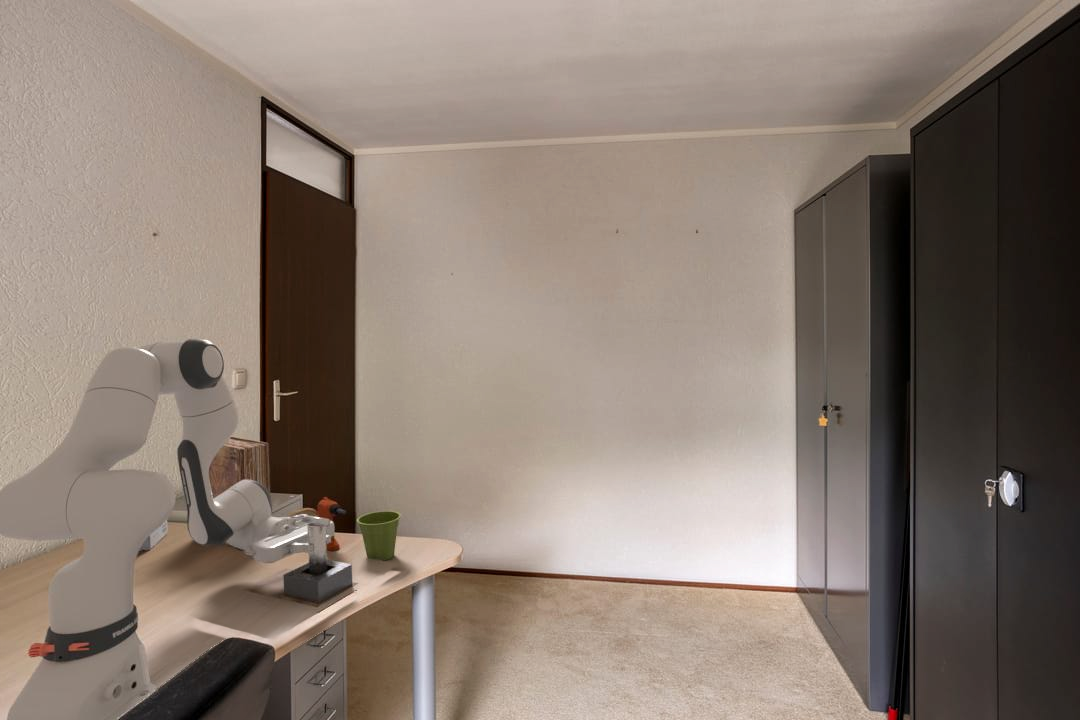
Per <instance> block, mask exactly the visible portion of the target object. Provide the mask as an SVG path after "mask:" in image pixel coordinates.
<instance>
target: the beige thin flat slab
mask: <svg viewBox="0 0 1080 720" xmlns="http://www.w3.org/2000/svg"><path fill="white" fill-rule="evenodd" d="M292 570H293V569H290V568H284V569H282V570H279V571H277V572H275V573H273V574H271V575H268V576H266V577H264V578H262V579H260V580H258V581H256V582H253V583H251V584H250V585H247V586H245V587H242V588H241V590H242V591H247V592H250V593H255V594H259V595H263V596H267V597H272V598H277V599H280V600H283V601H289V602H292V603H297V604H302V605H306V606H311V607H316V608H318V607H321V606H322V605H323V604H325V603H327V602H329V601H330V600H332V599H334V598H336V597H337V596H339V595H340V594H342V593H344V592H346V591H348V590H349V589H352V588H354V587H355V586H356V585H358V584H359V583H358V582H353V581H352V585H351V586H349V587H348V588H346V589H344V590H342V591H341V592H339V593H337V594H335V595H334V596H332V597H330V598H328V599H327V600H325V601H323V602H322V603H320V604H316V603H312V602H308V601H303V600H299V599H295V598H290V597H286V596H284V578H283V575H284V574H286V573H288V572H290V571H292ZM354 591H355V592H356V591H357V589H355V590H353V591H352V592H350V593H349V594H347V595H345V596H343V597H342V598H340V599H338V600H337V601H334V602H333V603H331V604H329V605H328V606H326V607H325V608H323V609H321V610H319V611H317V613H318V614H319V613H321V612H322V611H324V610H326V609H328V608H329V607H331V606H333V605H334V604H336V603H338V602H339V601H341V600H342V599H344V598H346V597H348V596H350V595H351V594H352V593H355V592H354Z"/></svg>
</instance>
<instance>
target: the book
mask: <svg viewBox="0 0 1080 720" xmlns="http://www.w3.org/2000/svg"><path fill="white" fill-rule="evenodd" d="M208 474H209V480H210V485H211V490H212V496H213V499H214V498H215V497H217V496H218V495H220V494H222V493H223V492H225V491H226V490H227V489H229V488H230V487H232V486H233V485H235V484H237V483H238V482H240V481H241V480H243V479H250V480H254V481H257V482H259V483H261V484H262V485H264V486H265V487H266V488H267V489H268V491H269V493H270V494H271V484H270V483H271V482H270V480H271V479H270V458H269V443H268V442H264V441H259V440H254V439H248V438H241V437H235V436H231V438H230V439H229V440H228V441H227V442H226V443H225V444H224V445H223V446H222V447H221V449H220V450H219V451H218V452H217V454H216V455H215V457H214V458H213V460H212V462H211V464H210V466H209V472H208ZM224 545H227V546H230V547H232V548H233V549H234V548H235V549H236V550H239V551H243V550H242V549H239V548H236V547H234V546H231V545H230V544H228V543H227V542H225V543H224Z"/></svg>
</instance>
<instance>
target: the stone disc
mask: <svg viewBox="0 0 1080 720" xmlns="http://www.w3.org/2000/svg"><path fill="white" fill-rule="evenodd" d="M301 514H307V515H308V516H313V517H320V516H319V515H318V511H317V510H316V509H315V508H310V507H304V508H299V509H295V510H293V511H291V512H290V513H289V514H288V516H287V517H291V516H296V515H301ZM320 518H321V517H320Z"/></svg>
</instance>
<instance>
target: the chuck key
mask: <svg viewBox="0 0 1080 720" xmlns="http://www.w3.org/2000/svg"><path fill="white" fill-rule="evenodd" d="M301 521H302V523H306V524H309V525H308V526H307V529H308V543H313V545H314V547H313V548H314V550H313V551H311V552H309V553H308V554H307V555H308V563H309V574H311V575H316V576H319V575H321V574H323V573H325V572H327V560H328V551H327V546H326V527H328V526H329V525H330V523H331V521H330V519H327V518H321V517H313V516H306V515H305V516H303V517H302V518H301Z"/></svg>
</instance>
